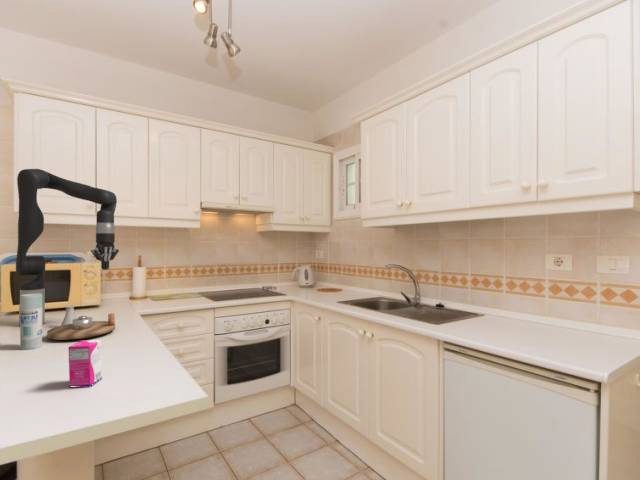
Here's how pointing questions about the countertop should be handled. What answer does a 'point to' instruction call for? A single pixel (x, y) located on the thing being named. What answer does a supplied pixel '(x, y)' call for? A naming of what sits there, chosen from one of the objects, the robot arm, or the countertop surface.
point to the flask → (69, 316)
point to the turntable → (96, 329)
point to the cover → (82, 323)
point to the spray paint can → (30, 321)
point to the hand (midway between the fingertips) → (105, 269)
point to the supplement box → (85, 363)
